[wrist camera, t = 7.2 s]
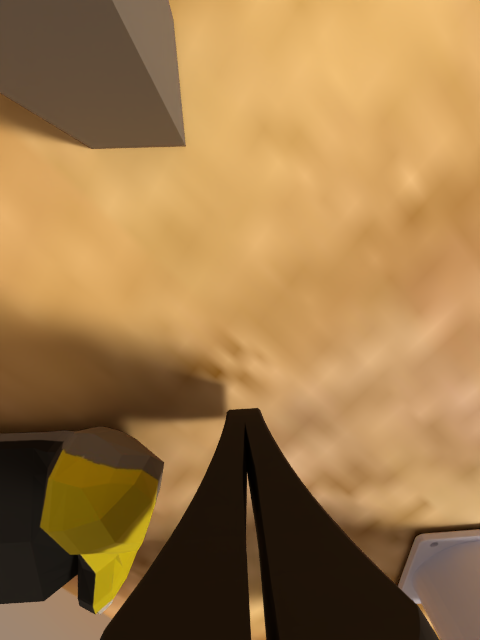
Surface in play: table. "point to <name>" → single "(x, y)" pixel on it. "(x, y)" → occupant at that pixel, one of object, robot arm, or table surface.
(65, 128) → the posts
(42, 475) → the black yellow sneaker
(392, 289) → the table surface
